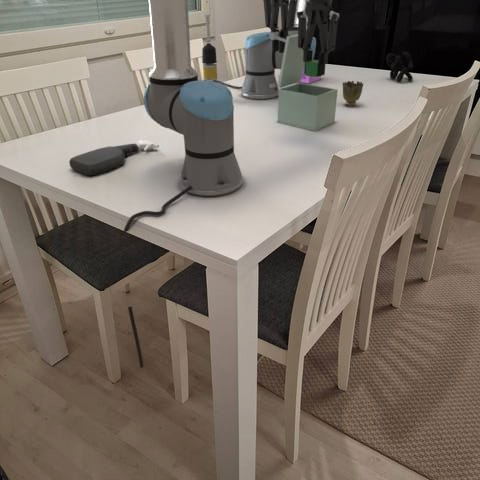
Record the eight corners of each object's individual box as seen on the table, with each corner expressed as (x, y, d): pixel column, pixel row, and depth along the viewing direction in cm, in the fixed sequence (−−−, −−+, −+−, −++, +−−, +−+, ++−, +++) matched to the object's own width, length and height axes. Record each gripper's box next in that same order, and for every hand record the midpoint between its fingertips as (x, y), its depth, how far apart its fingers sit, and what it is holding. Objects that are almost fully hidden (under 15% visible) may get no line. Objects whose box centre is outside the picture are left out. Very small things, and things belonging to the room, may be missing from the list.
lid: (311, 32, 143) (288, 25, 147) (289, 37, 135) (266, 28, 140) (300, 81, 153) (279, 72, 157) (280, 88, 145) (258, 78, 149)
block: (323, 74, 137) (324, 60, 135) (316, 77, 134) (317, 63, 132) (312, 73, 139) (312, 59, 137) (305, 75, 136) (306, 61, 134)
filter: (220, 99, 177) (217, 15, 161) (206, 100, 176) (202, 16, 160) (215, 96, 182) (212, 14, 166) (202, 97, 180) (197, 14, 164)
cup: (337, 106, 166) (340, 84, 162) (343, 101, 171) (346, 79, 167) (357, 108, 163) (360, 86, 159) (363, 103, 168) (365, 81, 164)
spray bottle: (67, 168, 120) (139, 144, 136) (91, 178, 114) (163, 151, 130) (65, 157, 118) (137, 134, 134) (89, 167, 112) (162, 142, 128)
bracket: (309, 83, 198) (310, 66, 194) (298, 81, 200) (299, 65, 197) (323, 78, 206) (324, 62, 203) (312, 76, 209) (313, 60, 205)
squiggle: (400, 92, 202) (376, 71, 205) (417, 76, 202) (392, 56, 205) (405, 81, 191) (380, 59, 194) (423, 64, 191) (397, 42, 194)
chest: (334, 122, 150) (337, 89, 145) (314, 131, 143) (317, 96, 137) (297, 114, 159) (299, 82, 153) (277, 122, 151) (278, 89, 146)
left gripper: (354, -14, 121) (345, 75, 134) (302, -15, 131) (298, 68, 144) (339, -12, 117) (331, 80, 129) (286, -13, 127) (284, 73, 139)
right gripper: (309, -33, 132) (304, 52, 145) (268, -32, 141) (267, 48, 154) (294, -32, 128) (290, 56, 140) (253, -32, 136) (253, 51, 149)
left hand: (314, 74), depth 136 cm, fingers closed on block, 4 cm apart
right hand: (278, 51), depth 147 cm, fingers closed on lid, 2 cm apart
